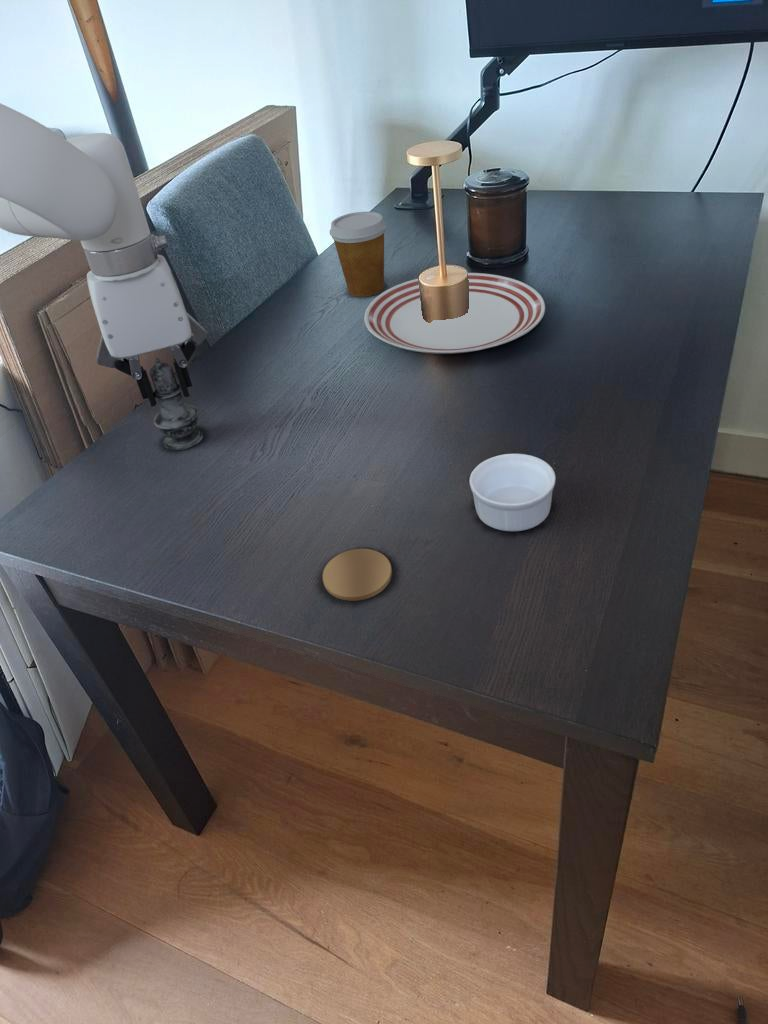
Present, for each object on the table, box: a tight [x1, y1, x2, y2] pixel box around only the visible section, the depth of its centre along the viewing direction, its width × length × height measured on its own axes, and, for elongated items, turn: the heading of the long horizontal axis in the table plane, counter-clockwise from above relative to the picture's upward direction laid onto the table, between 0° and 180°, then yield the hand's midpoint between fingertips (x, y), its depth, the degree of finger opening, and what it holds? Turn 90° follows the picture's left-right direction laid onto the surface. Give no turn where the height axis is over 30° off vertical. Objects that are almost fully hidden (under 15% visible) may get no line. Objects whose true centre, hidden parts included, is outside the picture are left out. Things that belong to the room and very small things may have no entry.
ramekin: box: [469, 453, 557, 532], centre depth 80 cm, size 9×9×4 cm
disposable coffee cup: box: [329, 211, 387, 298], centre depth 129 cm, size 10×10×12 cm
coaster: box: [322, 548, 393, 602], centre depth 76 cm, size 7×7×1 cm
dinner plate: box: [363, 272, 546, 355], centre depth 117 cm, size 28×27×3 cm
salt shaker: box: [149, 357, 204, 451], centre depth 98 cm, size 6×6×12 cm
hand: (169, 395), depth 97 cm, fingers closed on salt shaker, 3 cm apart
